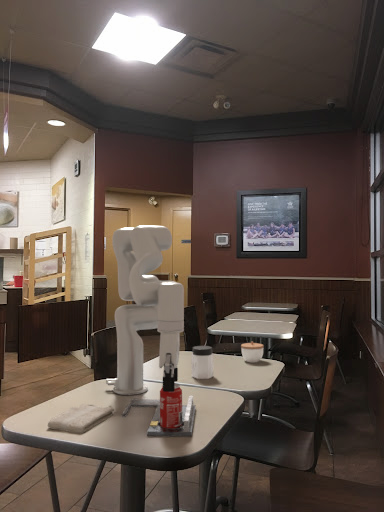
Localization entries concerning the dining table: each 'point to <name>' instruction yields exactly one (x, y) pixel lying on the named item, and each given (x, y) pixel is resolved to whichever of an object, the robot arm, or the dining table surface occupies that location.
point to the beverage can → (171, 408)
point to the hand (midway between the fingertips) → (170, 386)
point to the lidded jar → (252, 351)
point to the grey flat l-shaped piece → (141, 404)
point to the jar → (202, 362)
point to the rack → (186, 430)
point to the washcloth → (80, 418)
